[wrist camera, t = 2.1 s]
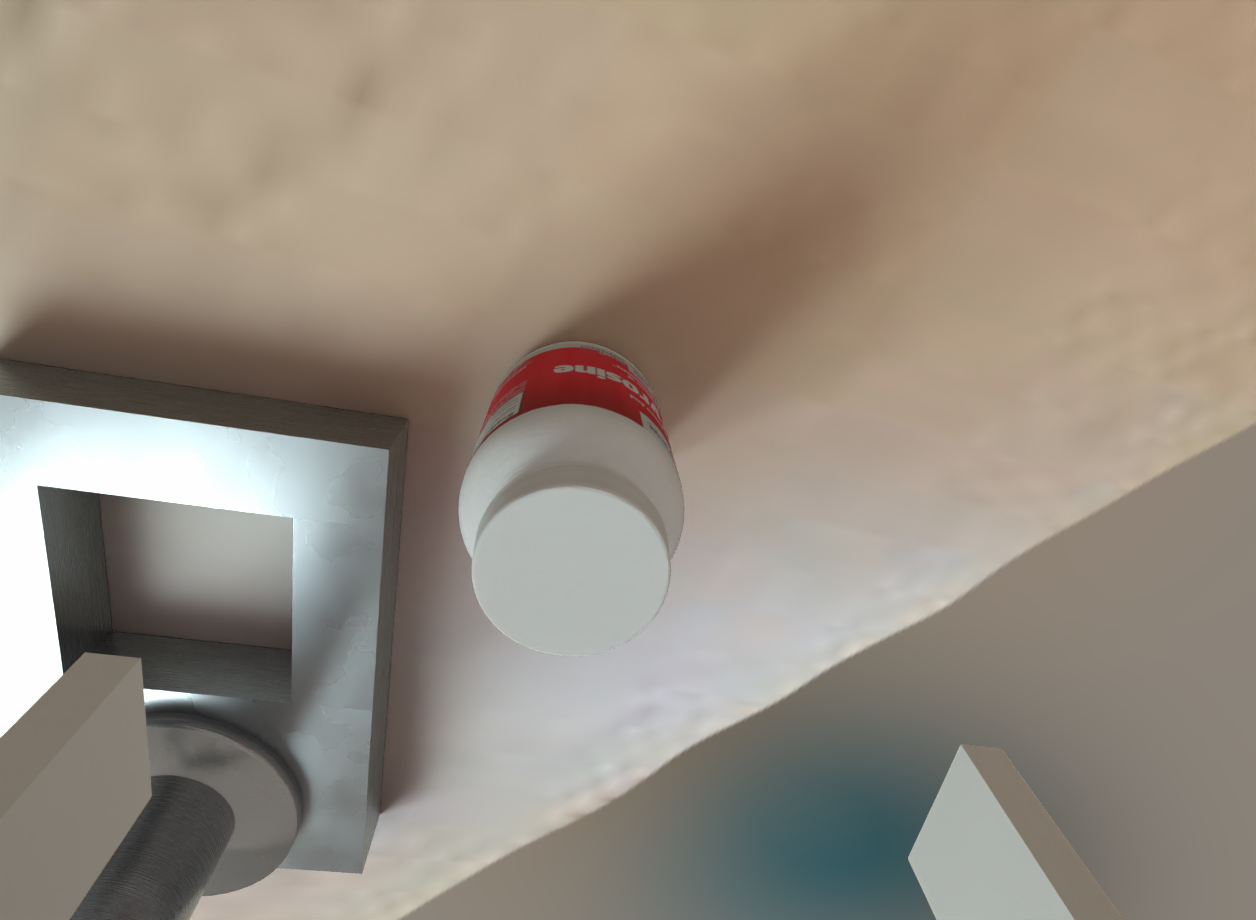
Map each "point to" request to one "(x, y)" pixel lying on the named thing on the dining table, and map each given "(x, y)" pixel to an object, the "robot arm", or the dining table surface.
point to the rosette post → (199, 670)
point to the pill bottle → (572, 502)
